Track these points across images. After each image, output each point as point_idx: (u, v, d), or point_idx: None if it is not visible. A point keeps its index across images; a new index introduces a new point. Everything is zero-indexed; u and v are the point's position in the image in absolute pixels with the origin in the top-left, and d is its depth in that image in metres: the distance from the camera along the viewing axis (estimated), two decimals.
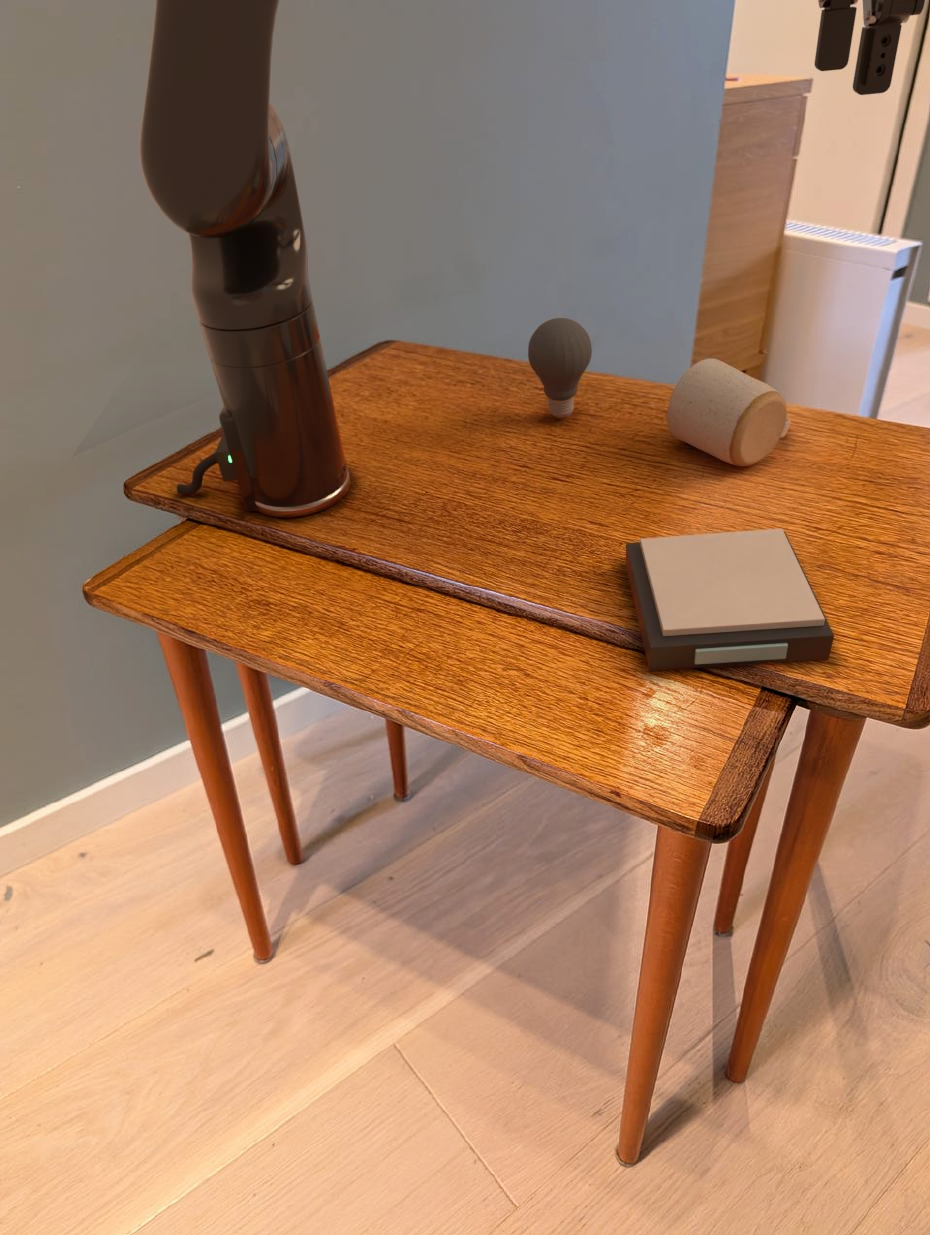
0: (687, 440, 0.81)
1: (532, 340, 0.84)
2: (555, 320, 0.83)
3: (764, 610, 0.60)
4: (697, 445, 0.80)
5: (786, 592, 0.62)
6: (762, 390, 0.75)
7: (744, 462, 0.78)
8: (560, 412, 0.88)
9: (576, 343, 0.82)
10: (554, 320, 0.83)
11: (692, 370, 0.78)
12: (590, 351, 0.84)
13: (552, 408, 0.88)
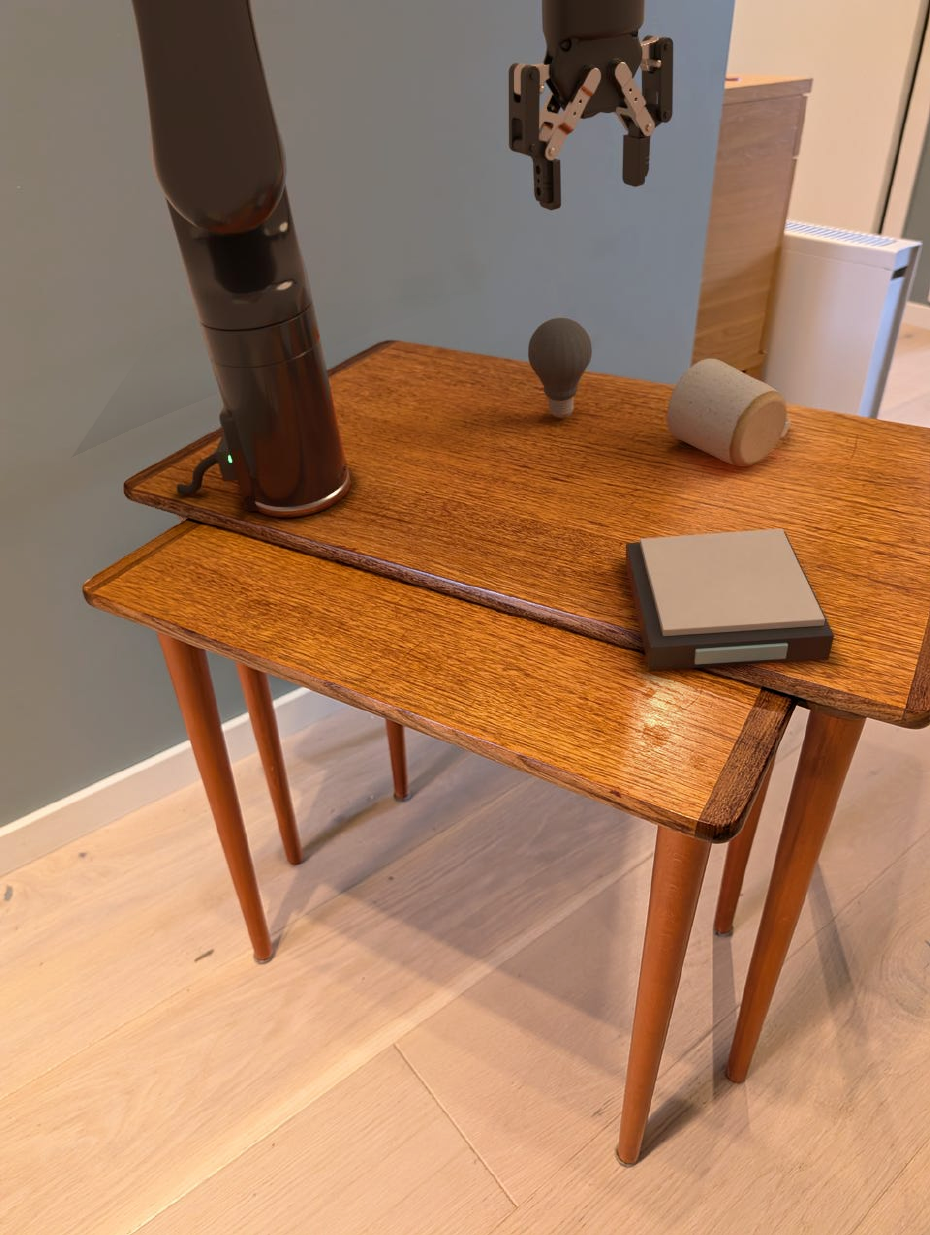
0: (687, 440, 0.81)
1: (532, 340, 0.84)
2: (555, 320, 0.83)
3: (764, 610, 0.60)
4: (697, 445, 0.80)
5: (786, 592, 0.62)
6: (762, 390, 0.75)
7: (744, 462, 0.78)
8: (560, 412, 0.88)
9: (576, 343, 0.82)
10: (554, 320, 0.83)
11: (692, 370, 0.78)
12: (590, 351, 0.84)
13: (552, 408, 0.88)
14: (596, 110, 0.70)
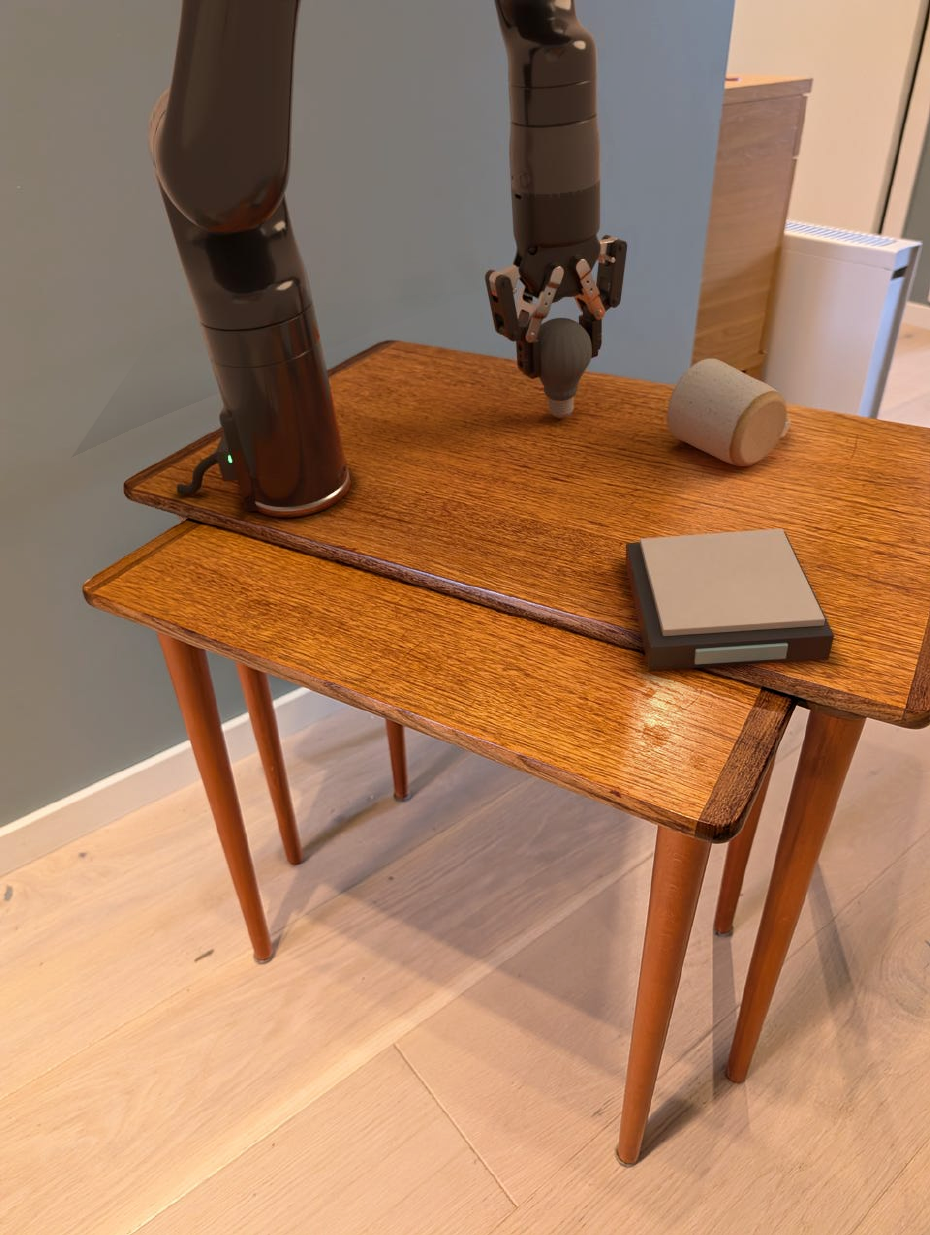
0: (687, 440, 0.81)
1: None
2: (555, 320, 0.83)
3: (764, 610, 0.60)
4: (697, 445, 0.80)
5: (786, 592, 0.62)
6: (762, 390, 0.75)
7: (744, 462, 0.78)
8: (560, 412, 0.88)
9: (577, 343, 0.82)
10: (554, 320, 0.83)
11: (692, 370, 0.78)
12: (590, 351, 0.84)
13: (552, 408, 0.88)
14: (561, 296, 0.81)
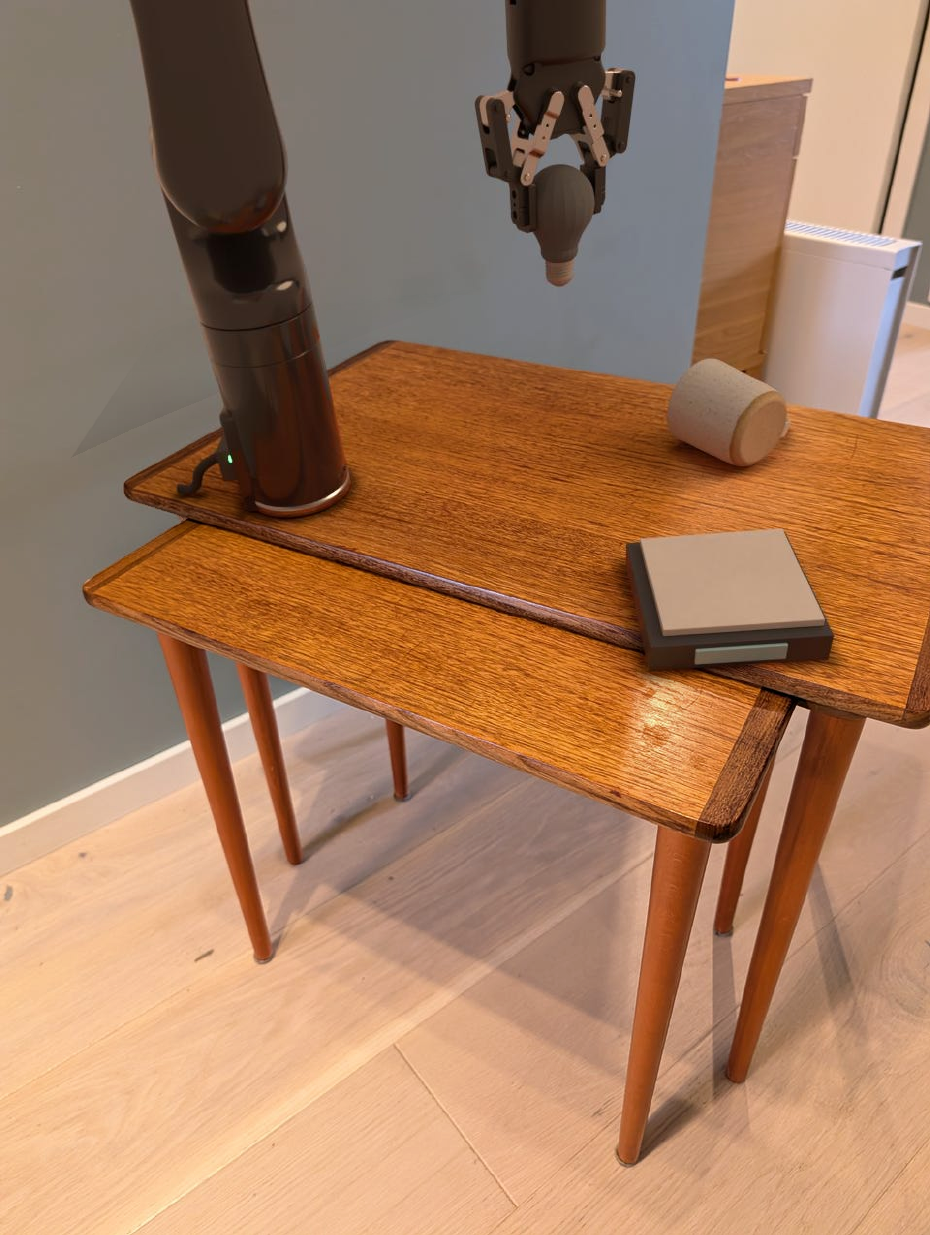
0: (687, 440, 0.81)
1: None
2: (554, 165, 0.74)
3: (764, 610, 0.60)
4: (697, 445, 0.80)
5: (786, 592, 0.62)
6: (762, 390, 0.75)
7: (744, 462, 0.78)
8: (558, 277, 0.79)
9: (578, 190, 0.73)
10: (553, 165, 0.74)
11: (692, 370, 0.78)
12: (593, 202, 0.75)
13: (549, 273, 0.79)
14: (560, 132, 0.71)
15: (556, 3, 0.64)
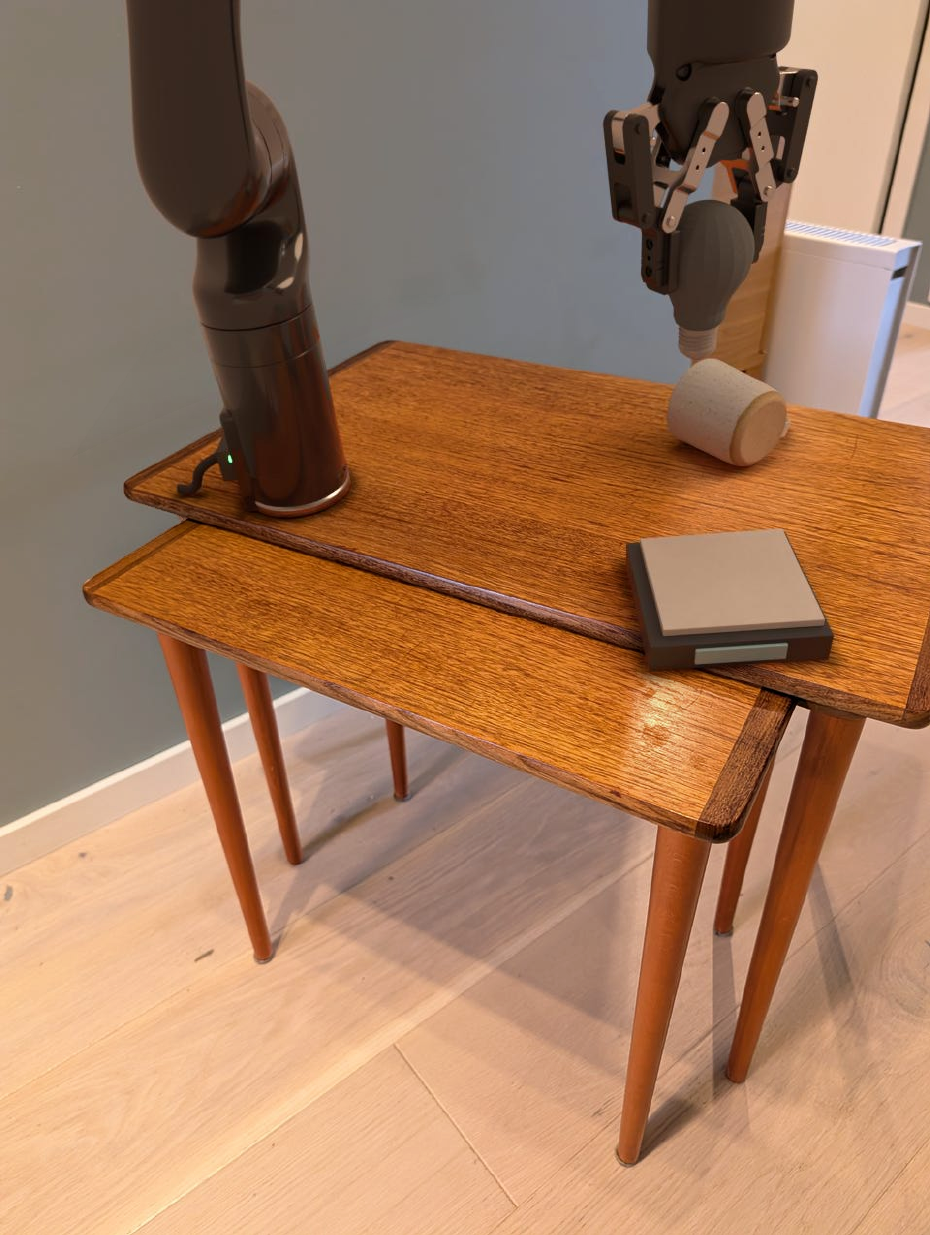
0: (687, 440, 0.81)
1: None
2: (701, 202, 0.54)
3: (764, 610, 0.60)
4: (697, 445, 0.80)
5: (786, 592, 0.62)
6: (762, 390, 0.75)
7: (744, 462, 0.78)
8: (698, 349, 0.58)
9: (737, 235, 0.53)
10: (699, 202, 0.54)
11: (692, 370, 0.78)
12: (753, 251, 0.55)
13: (685, 344, 0.59)
14: (717, 158, 0.51)
15: None
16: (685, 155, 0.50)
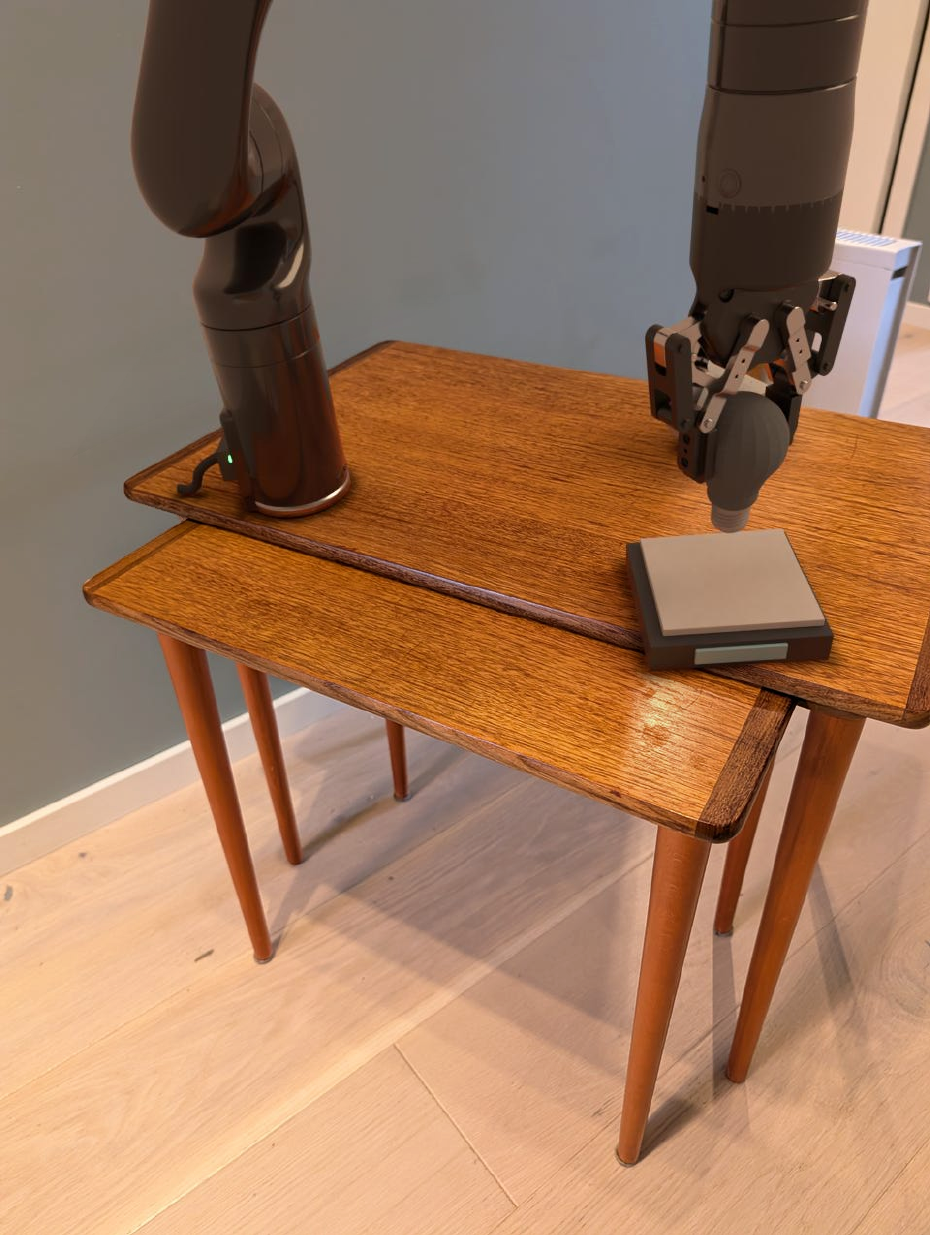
0: None
1: None
2: (738, 396, 0.55)
3: (764, 610, 0.60)
4: None
5: (786, 592, 0.62)
6: (762, 390, 0.75)
7: None
8: (731, 526, 0.59)
9: (774, 432, 0.54)
10: (736, 396, 0.55)
11: None
12: (788, 442, 0.55)
13: (718, 520, 0.60)
14: (755, 362, 0.52)
15: (781, 218, 0.44)
16: (724, 363, 0.51)
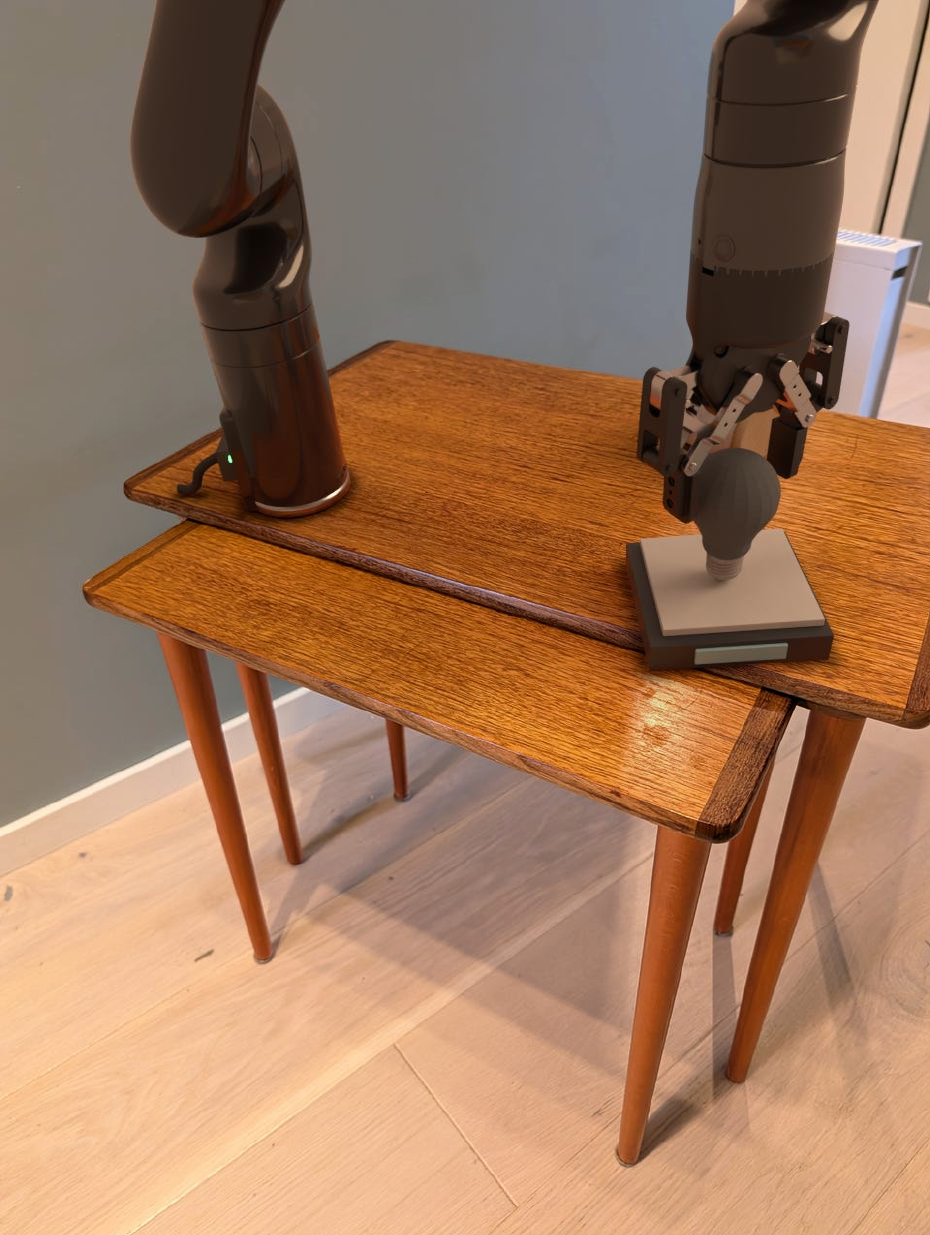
0: (687, 440, 0.81)
1: None
2: (731, 453, 0.57)
3: (764, 610, 0.60)
4: None
5: (786, 592, 0.62)
6: None
7: None
8: (725, 574, 0.62)
9: (765, 489, 0.56)
10: (730, 453, 0.57)
11: None
12: (779, 497, 0.58)
13: (713, 568, 0.62)
14: (750, 412, 0.54)
15: (773, 282, 0.46)
16: None
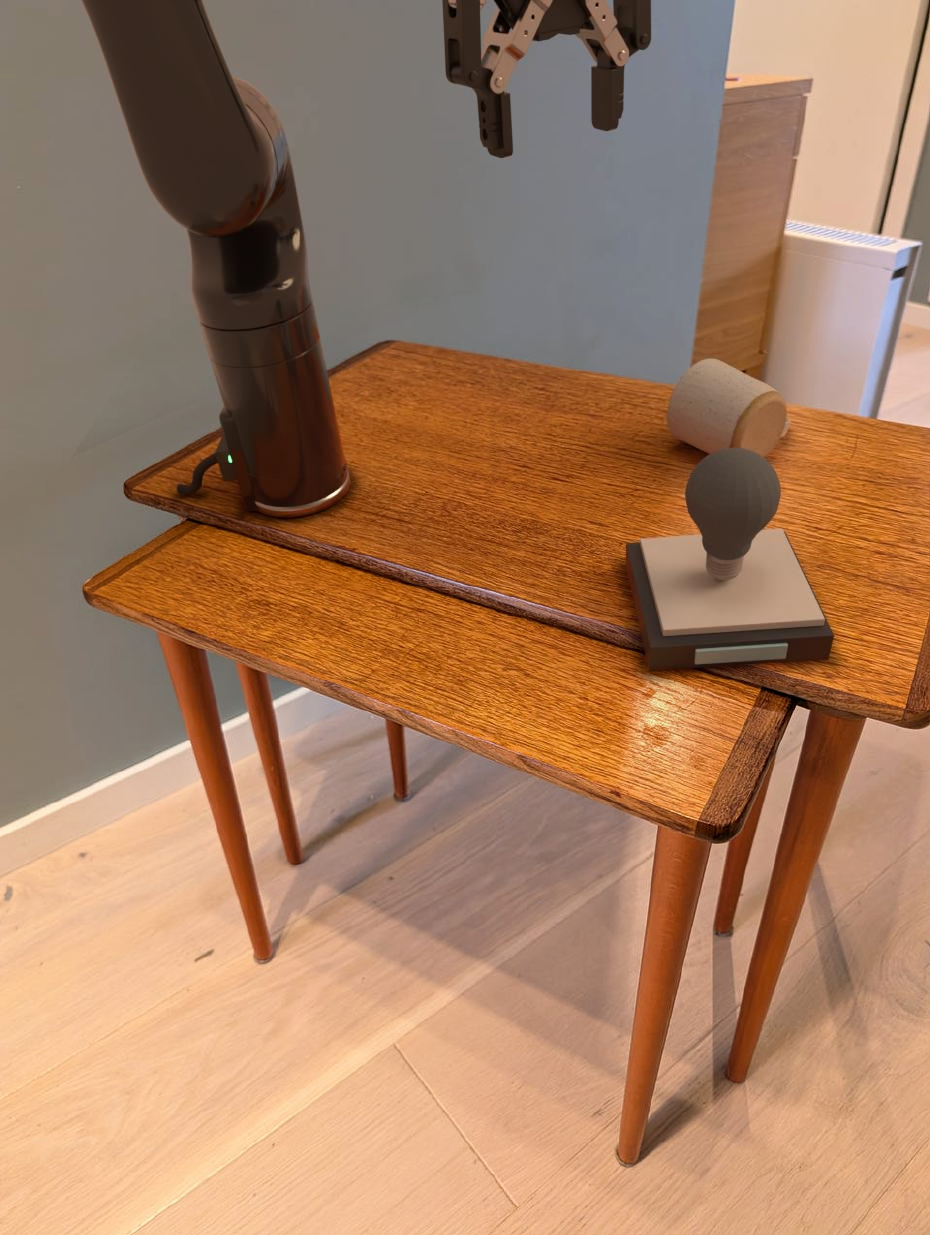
0: (687, 440, 0.81)
1: (696, 481, 0.58)
2: (731, 453, 0.57)
3: (764, 610, 0.60)
4: (697, 445, 0.80)
5: (786, 592, 0.62)
6: (762, 390, 0.75)
7: None
8: (725, 574, 0.62)
9: (765, 489, 0.56)
10: (730, 453, 0.57)
11: (692, 370, 0.78)
12: (779, 497, 0.58)
13: (713, 568, 0.62)
14: (554, 30, 0.56)
15: None
16: None
